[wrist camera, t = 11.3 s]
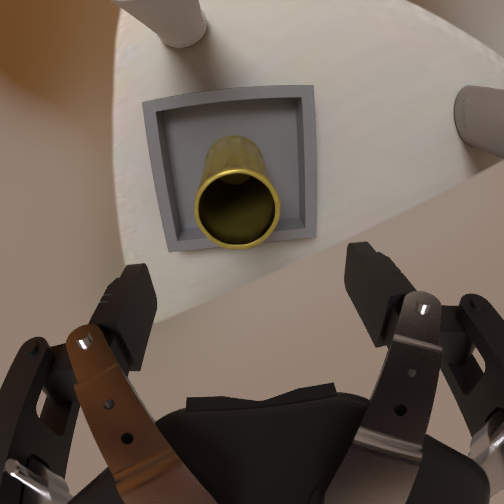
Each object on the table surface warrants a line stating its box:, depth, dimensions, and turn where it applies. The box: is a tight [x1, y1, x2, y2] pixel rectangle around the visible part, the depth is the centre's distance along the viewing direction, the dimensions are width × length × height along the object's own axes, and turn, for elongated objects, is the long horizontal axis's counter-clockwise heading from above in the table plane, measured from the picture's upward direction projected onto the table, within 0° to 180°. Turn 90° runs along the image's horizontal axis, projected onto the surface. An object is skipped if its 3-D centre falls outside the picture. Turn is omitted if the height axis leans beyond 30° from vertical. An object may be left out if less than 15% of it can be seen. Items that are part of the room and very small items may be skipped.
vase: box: [194, 136, 281, 249], centre depth 23 cm, size 6×6×14 cm
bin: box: [142, 85, 317, 252], centre depth 29 cm, size 16×16×4 cm
